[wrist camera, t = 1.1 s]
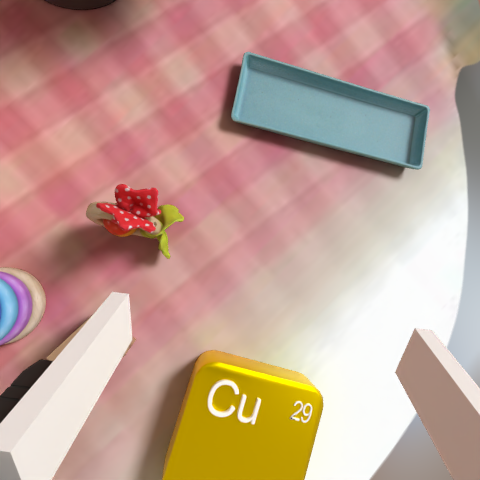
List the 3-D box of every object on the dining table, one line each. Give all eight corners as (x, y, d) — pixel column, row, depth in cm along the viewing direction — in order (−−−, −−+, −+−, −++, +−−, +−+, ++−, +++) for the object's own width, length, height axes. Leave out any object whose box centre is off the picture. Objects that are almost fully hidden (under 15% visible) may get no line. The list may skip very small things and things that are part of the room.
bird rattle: (123, 253, 34) (190, 261, 32) (38, 245, 24) (129, 256, 21) (131, 203, 35) (197, 207, 32) (50, 173, 24) (141, 176, 22)
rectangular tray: (228, 127, 36) (230, 117, 33) (241, 61, 36) (245, 47, 34) (408, 175, 39) (422, 170, 37) (416, 115, 40) (430, 106, 38)
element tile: (159, 473, 32) (153, 511, 27) (200, 344, 33) (200, 359, 29) (279, 497, 34) (293, 536, 29) (312, 374, 35) (331, 393, 31)
